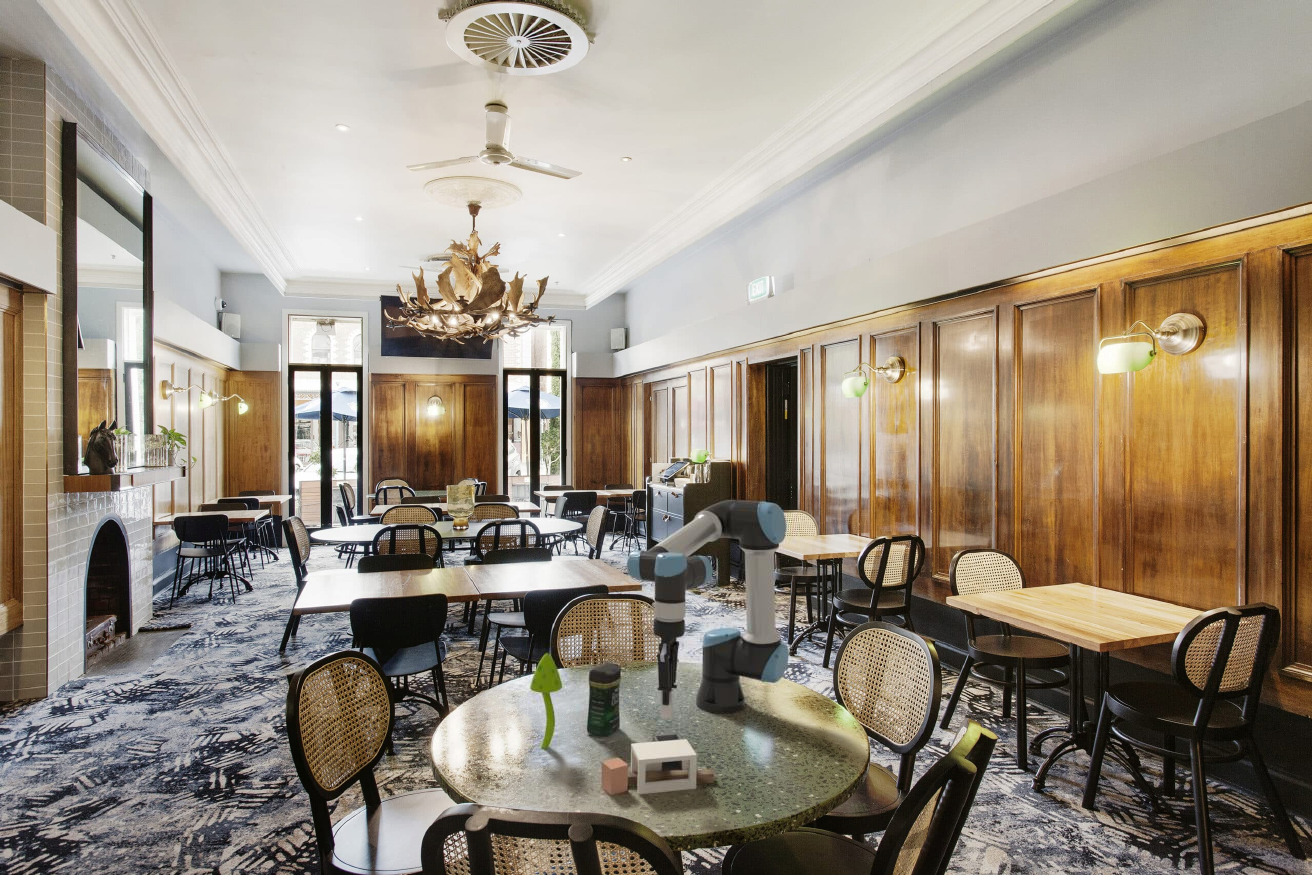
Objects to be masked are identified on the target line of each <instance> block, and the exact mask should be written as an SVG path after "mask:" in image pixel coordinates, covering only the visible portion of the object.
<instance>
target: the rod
mask: <svg viewBox="0 0 1312 875" xmlns="http://www.w3.org/2000/svg"><path fill="white" fill-rule="evenodd" d="M688 771H689V769H687V770H672V771H645V783H647V782H657V781H667V780H677V779H687V778H688ZM714 775H715V774H714V771H713V769H712V768H706V769H705V768H704V769H701V768H700V769H696V784H714V780H715V779H714V778H715V776H714ZM637 777H638V772H631V771H628V786H629V787H632V786H634V787H635V786H636V787H637ZM628 786H627V787H628Z"/></svg>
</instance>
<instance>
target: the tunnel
mask: <svg viewBox="0 0 1312 875" xmlns="http://www.w3.org/2000/svg"><path fill="white" fill-rule="evenodd" d="M697 756H698V754H697V753H696V752H695V750H694V749H693V747H692V744H690V743H689V741H688V739H686V738H684V739H683V738H682V737H681V735H680V734H679V733H678V732H677V733H676V732H675V733H667V734H666V733H664V734H653V735H652V741H648V742H647V741H646V742H636V743H630V772H638V777H637V786H636V789H637V791H636V792H637V795H647V794H655V793H667V792H676V791H685V790H686V791H687V790H696V789H697V783H696V770H698V768H697V764H698V762H697V760H698V759H697V758H698V757H697ZM672 770H689V771H688V778H687V779H677V780H667V781H657V782H647V783H645V771H672Z"/></svg>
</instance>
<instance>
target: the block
mask: <svg viewBox="0 0 1312 875" xmlns="http://www.w3.org/2000/svg"><path fill="white" fill-rule="evenodd" d="M628 772H629V765H628V764H627V763H626V762H625V761H624V760H622V759H621V758H620V757H614V758H612V759H608V760H604V761H601V781H600V782H601V785H600V786H601V788H602V790H604V791H605V792H606V793H607V794H608V795H609V796H614V795H616V794H621V793H624V792H627V791H628Z"/></svg>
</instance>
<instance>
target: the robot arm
mask: <svg viewBox="0 0 1312 875" xmlns="http://www.w3.org/2000/svg"><path fill="white" fill-rule="evenodd" d="M786 533H787V520H786V516H785V512H784V511H783V509H782V508H781V506H779V504H777V503H774V502H767V501H765V500H764V501H761V500H760V501H758V500H757V501H756V500H742V499H741V500H738V499H729V500H728V499H727V500H723V501H719V502H717V503H714V504H712V505H710V506H708V507H706V508H704V509H702V510H700V511H699V512H697V513H696V515H694V518H693V520H691V521H690V522H689V523H686V525H684V526H682V527H681V528H680V529H678V530H676V531H675V532H674V533H672V534H671V535H669V536H668V537H666V538H665V539H664V540H662V541H660V542H659V543H656V545H654V546H653V547H651V548H650V549H648V550H642V549H641V550H636V549H635V550H633V551H632V552H631V553H630V554H629V556H628V557H627V562H626V571H627V574H628V576H629V577H631V578H632V579H635V580H641V581H645V582H651V583H654V598H653V600H654V602H652V604H651V606H652V607H653V608H654V609H653V616H654V619H653V634H654V635H655V636H656V637H659V638H660V642H659V643H658V651H659V652H657V654H656V659H657V672H658V673H657V675H658V676H657V677H658V686H657V691H660V713H659V714H660V715H659V716H660V718H664V719H672V718H673V716H674V690H675V689H676V690H677V687H678V685H677V684H676V682H677V671H678V670H677V669H678V659H679V658H678V655H679V647H680V641H677V639H678V638H681V637H683V636H684V635H685V631H686V630H685V629H686V628H685V627H686V623H685V622H686V620H685V617H686V603H687V602H686V594H687V592H686V591H687V590H690V589H693V588H699V587H701V586H703V585H705V584H707V583H709V582H710V580H711V579H712V576H713V572H714V570H713V566H712V563H711V561H710V560H709V559H708V558H707V557H705V556H703V555H692V554H694V553H695V552H696V551H697V550H699V549H700V548H702V547H703V546H704V545H705V544H707V543H708V542H712V543H713V542H715V541H718V539H723V538H725V539H726V538H727V539H735V540H739V548H740V549H741V550H742V551H743V552H744V561H745V562H744V563H745V564H744V565H745V568H744V569H745V605H746V606H745V607H746V608H745V610H746V612H745V614H746V630H745V631H744V632H741V630H740V629H738V628H734V627H722V628H715V629H711V630H708V631H706V632H705V633H704V634H703V639H702V646H701V647H702V678H701V681H700V684H699V687H698V690H697V692H696V698H695V700H696V701H695V703H696V706H697V708H700V709H701V710H702V711H703V710H704V711H707V712H710V713H714V714H733V713H737V712H739V711H742V710H744V708H745V706H746V705H745V702H746V699H745V694H744V691H743V688H742V685H741V681H740V680H741V679H740V677H742V678H747V679H751V680H755V681H759V682H762V683H770V684H775V683H777V682H779V681H780V680H781V679H782V677H783V675H784V674H785V672H786V669H787V666H788V662H789V657H790V656H789V653H790V652H789V647H788V645H786V644H785V643H782V635H781V634H780V633H779V631H778V630H776V591H775V590H776V588H775V585H776V584H775V580H776V578H775V577H776V576H775V552H776V551H777V550H778V549H779V548H780V544H781V543H783V541H784V540H785V538H786ZM691 555H692V556H691Z"/></svg>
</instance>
